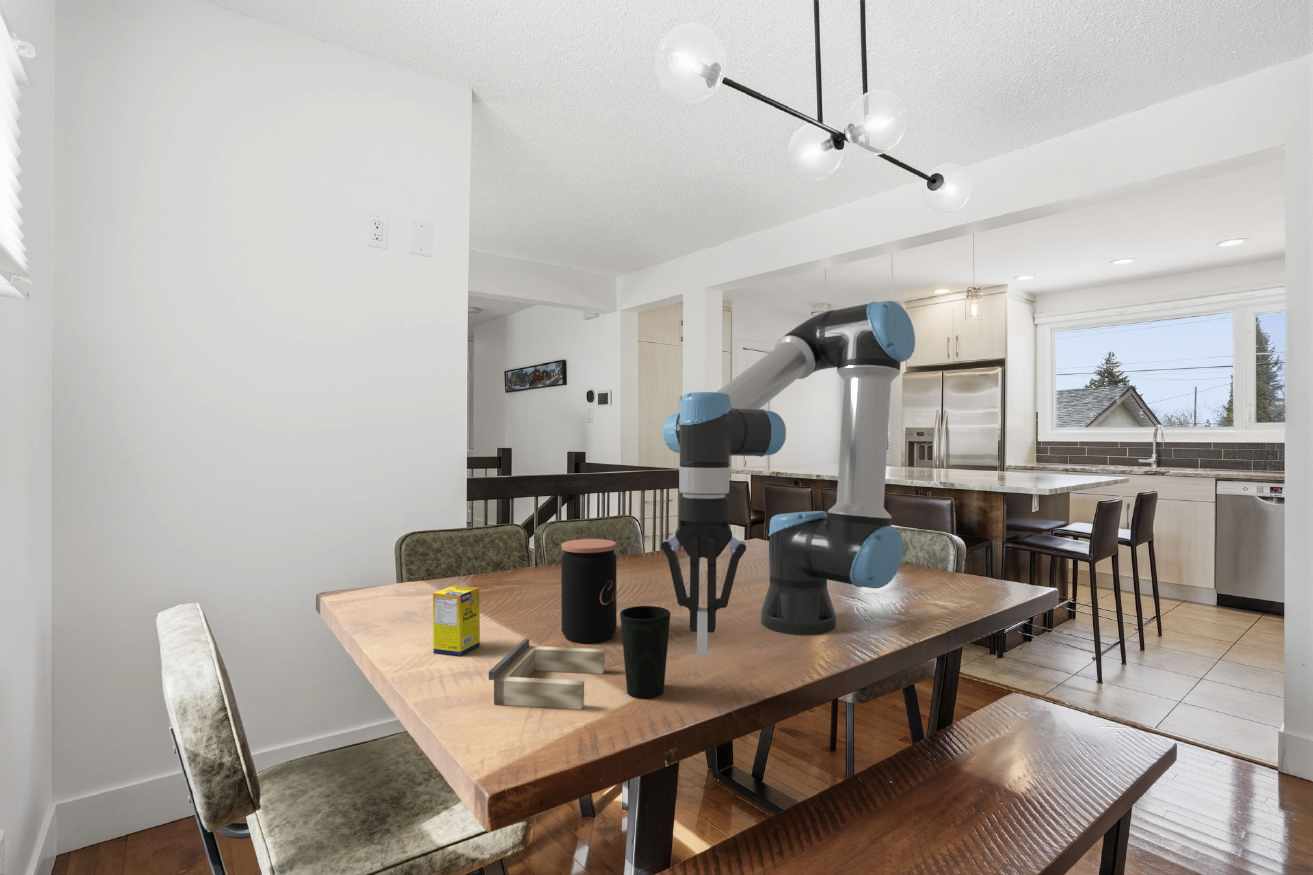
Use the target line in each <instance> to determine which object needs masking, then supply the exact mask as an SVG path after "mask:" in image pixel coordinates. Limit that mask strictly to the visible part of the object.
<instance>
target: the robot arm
mask: <svg viewBox="0 0 1313 875" xmlns="http://www.w3.org/2000/svg"><path fill="white" fill-rule="evenodd" d="M915 347H916V334H915V328H914V325H913V322H912V320H911V317H910V316H909V314H908V312H907V311H906V309H905V308H904V307H903V306H902V305H901V304H899V303H898V302H895V301H893V300H884V301H877V302H876V301H872V302H869V303H865V304H860V305H855V306H854V305H853V306H849V307H845V308H839V309H831V310H827V311H824V312H821V313H818V314H816V315H814V316H812V317H811V318H809V319H807V320H805V321H804V322H802V323H801V324H799V325H797V326H796V327H795V328H794V329H792V330H791V331H789V332H787V333H786V334H784V335H783V336H781V338H779V339H778V340H777V341H776V343H775V345H774V348H773V349H772V350H771V351H769V352H768V353H766V354H765V356H763V357H762V358H760V359H759V360H757V361H756V362H755V363H754V364H752V365H751V366H750V367H748V368H746V369H745V370H744V371H742V372H741V373H740V374H739V375H737V376H736V377H735V378H733V379H732V380H730V381H729V382H728V383H726V384H725V385H723V386H722V387H721V388H720V389H718V390H717V391H716V392H715V391H698V392H697V391H696V392H688V393H685V394H684V395H683V396H682V397H681V400H680V408H679V410H680V411H679V412H676V413H675V412H674V413H672V414H671V415H669V416H668V418H667V419H666V420H665V422H664V425H663V427H662V436H663V440H664V442H665V445H666V446H667V447H668V449H669V450H670V451H672V452H674V453H676V454H679V468H678V470H679V476H678V480H679V481H678V482H679V483H678V485H679V486H678V488H679V489H678V490H679V493H680V494H682V496H681V497H680V498H679V499H678V525H677V528H676V530H675V532H674V535H673V536H671V537H669V538H668V539H666V538H665V539H664V540H663V541H662V542H661V544H660V548H661V550H662V551H663V553H664V554H665V557H666V558H667V561H668V566H669V570H670V574H671V580H672V583H673V589H674V592H675V595H676V600H677V604H678V605H679V607H680V606H681V607H685V608H687V609H688V611H689V631H690V632H691V633H694V632H695V633H696V657H702V658H703V657H704V658H705V657H708V653H709V633H710V634H711V633H712V634H713V633H715V631H716V628H717V625H716V624H717V620H716V619H717V611H718V610H720V609H725V608H727V607H728V605H729V600H730V596H731V593H732V588H733V585H734V581H735V578H736V574H737V569H738V565H739V562H740V559H741V558H742V556H743V555H744V554H745V552H746V551H747V545H746V543H745V542H744V541H740V540H738V539H737V538H736V537H734V536H733V532H732V530H731V527H730V499H729V497H727V496H726V495H728V494H729V493H730V473H731V472H730V471H731V469H730V465H731V464H730V463H731V460H730V459H731V456H735V457H737V456H739V457H761V458H762V457H765V456H772V455H775V454H777V453H778V452H779V451H781V449H782V448H783V447H784V445H785V442H786V438H787V427H786V424H785V422H784V420H783V418H782V417H781V415H780V414H778V413H777V412H775V411H772V410H767V409H764V408H762V407H764V406H765V405H766V404H768V403H769V402H770V401H771V400H773V399H774V398H775V397H776V396H778V395H779V394H780V393H781V392H783V391H784V390H785V389H787V388H788V387H789V386H790V385H791V384H793V383H794V382H795V381H796V380H802V379H803V380H804V379H806V378H807V377H809V376H811V375H812V374H813V373H815V372H818V371H823V370H827V369H833V368H836V373H837V374H838V376H840V378H842V380H843V396H842V399H843V400H842V410H841V411H842V412H841V413H842V415H841V427H840V428H841V429H840V444H839V457H838V458H839V461H838V462H839V463H838V476H837V489H836V491H837V492H836V493H837V494H836V502H835V504H834V505H833V506H832V507H831V508H829V509H828V511H827V512H826V511H823V510H817V511H815V510H813V511H799V512H789V513H788V512H786V513H778V514H775V515H773V516H772V517H771V519H770V521H769V532H768V560H769V561H768V564H769V568H768V569H769V584H768V585H769V586H768V590H767V592H766V595H765V597H764V601H763V604H762V607H761V611H760V623H761V625H763V626H764V627H766V628H768V629H770V630H773V631H775V632H781V633H785V634H792V635H820V634H826V633H830V632H832V631H834V630H835V629H836V628H837V615H836V611H835V608H834V605H833V602H832V599H831V596H830V593H829V590H828V581H832V582H837V583H843V584H847V585H853V586H854V587H856V588H867V589H868V588H869V589H881V588H883V587H886V586H887V585H888V584H890V583H891V581H892V580H893V579H894V578H895V576H896V575H897V573H898V572H899V570H900V567H901V563H902V561H903V556H904V541H903V539H902V534H901V532H900V531H899V529H897V528H896V527H893V525H892V515H891V514H890V513H889V512H888V511H887V510H886V508H885V507H884V506H885V505H884V504H885V494H886V493H885V491H886V490H885V489H886V474H887V473H886V472H887V471H886V470H887V455H888V440H889V439H888V438H889V422H890V421H889V420H890V406H891V392H892V390H891V388H892V382H893V381H894V380H895V379H896V378H897V377H898V376H899V375H900V374H901V365H902V364H901V363H902V362H906V361H908V360H910V358H912V356H913V353H914V351H915ZM678 542H679V544H680V545H681V547H682V549H683V550H684V551H685V553H686V554H687V555H688V557H689V596H688V594H687V591H686V587H685V583H684V577H683V574H682V569H681V565H680V560H679V557H678V552H677V551H678V549H679V545H678ZM728 545H730V546H729V552H730V553H731V556H730V559H729V563H728V567H727V571H726V575H725V577H724V578H725V579H724V582H723V586H722V590H721V594H720V597H718V598H717V558H718V557H719V556H720V555H721V554H722V552H723V551H724V550H725V548H726V547H727V546H728ZM702 558H705V559H707V560H706V562H707V578H706V579H707V580H706V581H707V584H706V586H707V588H706V590H707V591H706V594H707V596H706V597H707V598H706V600H707V601H706V604H707V606H706V607H703V606H702V607H699V604H700V561H701V560H700V559H702Z"/></svg>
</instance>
